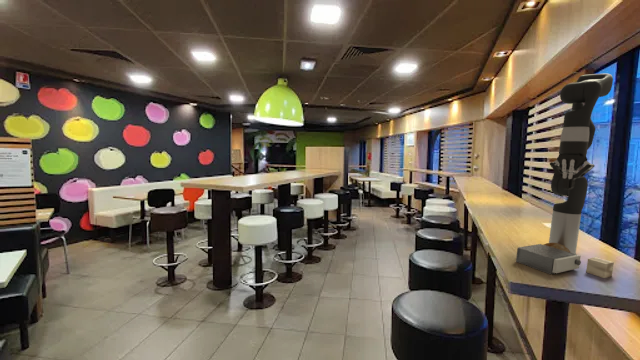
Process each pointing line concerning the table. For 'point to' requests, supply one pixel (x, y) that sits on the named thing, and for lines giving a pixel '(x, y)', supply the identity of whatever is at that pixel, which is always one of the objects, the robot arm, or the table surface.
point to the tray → (566, 263)
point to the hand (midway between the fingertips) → (567, 189)
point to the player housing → (540, 257)
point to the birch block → (600, 267)
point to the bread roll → (557, 246)
